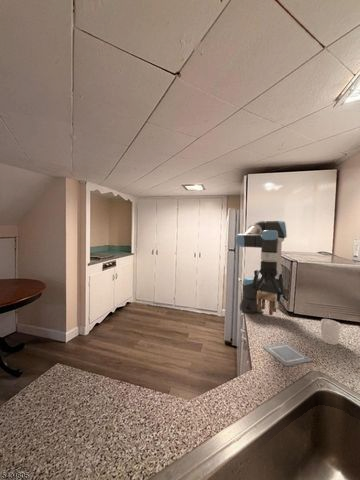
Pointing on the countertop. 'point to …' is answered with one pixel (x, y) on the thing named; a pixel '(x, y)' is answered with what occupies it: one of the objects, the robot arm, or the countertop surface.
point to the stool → (264, 297)
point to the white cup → (330, 331)
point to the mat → (287, 354)
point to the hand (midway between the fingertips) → (267, 305)
